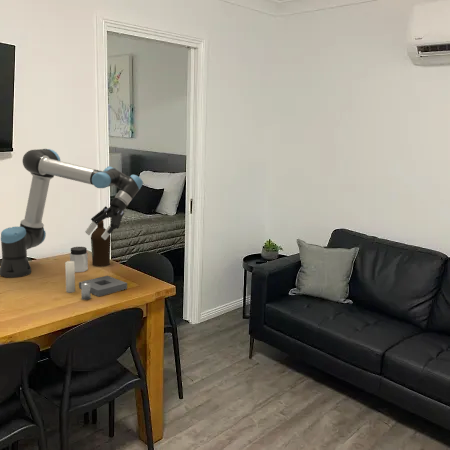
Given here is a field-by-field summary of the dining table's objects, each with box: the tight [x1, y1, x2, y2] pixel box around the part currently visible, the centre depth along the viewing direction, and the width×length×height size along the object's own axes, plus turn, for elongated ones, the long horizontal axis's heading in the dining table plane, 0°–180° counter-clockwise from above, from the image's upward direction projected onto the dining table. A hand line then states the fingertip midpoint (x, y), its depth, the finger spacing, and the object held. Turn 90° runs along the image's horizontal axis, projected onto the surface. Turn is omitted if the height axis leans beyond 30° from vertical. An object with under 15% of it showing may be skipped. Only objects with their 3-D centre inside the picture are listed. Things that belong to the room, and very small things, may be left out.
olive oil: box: [90, 220, 111, 267], centre depth 266 cm, size 11×11×25 cm
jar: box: [69, 246, 89, 273], centre depth 255 cm, size 9×8×12 cm
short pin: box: [80, 282, 92, 301], centre depth 214 cm, size 4×4×7 cm
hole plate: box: [78, 275, 128, 298], centre depth 228 cm, size 16×16×3 cm
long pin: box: [64, 260, 76, 293], centre depth 222 cm, size 4×4×14 cm
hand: (94, 236), depth 228 cm, fingers open, 13 cm apart
